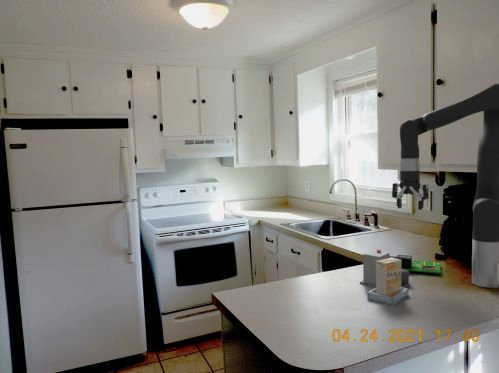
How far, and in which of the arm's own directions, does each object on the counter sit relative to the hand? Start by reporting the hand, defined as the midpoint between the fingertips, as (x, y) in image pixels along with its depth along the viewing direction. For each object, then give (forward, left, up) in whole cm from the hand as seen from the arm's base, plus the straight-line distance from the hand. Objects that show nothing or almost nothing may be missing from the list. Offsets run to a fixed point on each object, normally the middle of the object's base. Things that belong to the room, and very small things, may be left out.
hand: (409, 208), depth 164 cm
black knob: (-2, +11, -28) cm, 30 cm away
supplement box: (-5, +28, -28) cm, 40 cm away
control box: (+6, +17, -28) cm, 33 cm away
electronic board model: (+7, -9, -28) cm, 30 cm away
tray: (-4, +28, -28) cm, 40 cm away
